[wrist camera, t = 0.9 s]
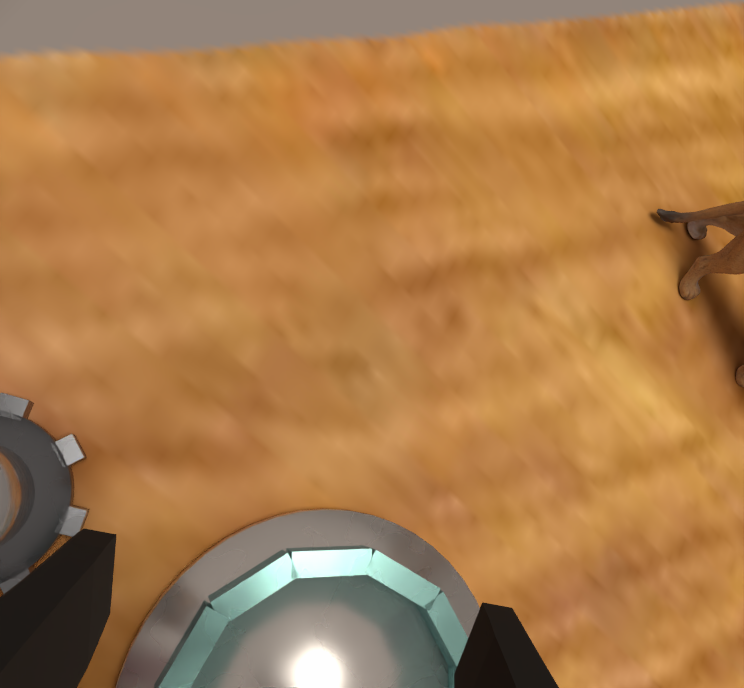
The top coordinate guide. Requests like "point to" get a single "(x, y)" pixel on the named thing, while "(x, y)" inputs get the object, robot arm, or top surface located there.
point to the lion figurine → (730, 260)
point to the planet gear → (33, 490)
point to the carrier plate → (308, 610)
